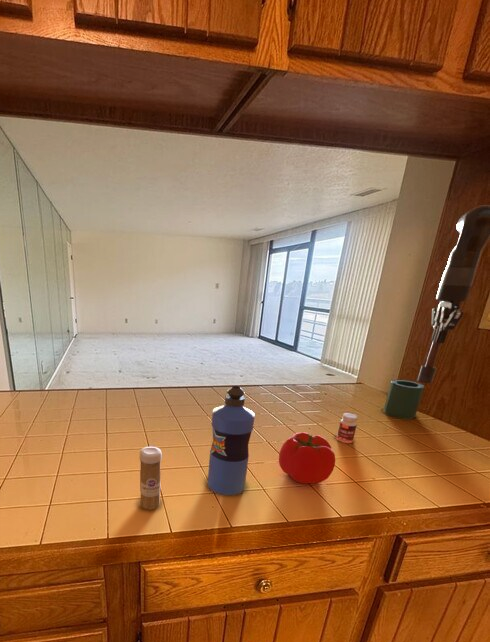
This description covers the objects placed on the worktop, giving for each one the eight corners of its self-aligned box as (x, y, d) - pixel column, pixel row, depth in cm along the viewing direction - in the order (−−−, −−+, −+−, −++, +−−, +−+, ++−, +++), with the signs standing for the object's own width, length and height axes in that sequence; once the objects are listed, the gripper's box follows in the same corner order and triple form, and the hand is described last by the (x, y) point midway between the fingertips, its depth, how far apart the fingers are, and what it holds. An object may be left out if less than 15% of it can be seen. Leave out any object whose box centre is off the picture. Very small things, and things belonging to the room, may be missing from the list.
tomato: (282, 458, 97) (288, 424, 93) (333, 471, 91) (342, 435, 87) (269, 481, 87) (275, 443, 83) (326, 497, 80) (336, 458, 76)
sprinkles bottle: (144, 512, 74) (144, 457, 69) (137, 500, 78) (136, 447, 73) (163, 507, 76) (165, 453, 71) (155, 496, 80) (156, 444, 75)
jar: (408, 410, 135) (417, 381, 130) (419, 420, 126) (429, 389, 121) (379, 408, 137) (387, 379, 132) (388, 417, 128) (397, 386, 123)
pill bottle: (336, 441, 108) (342, 417, 105) (335, 435, 112) (341, 411, 109) (353, 444, 106) (359, 419, 103) (352, 438, 110) (358, 414, 107)
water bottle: (219, 499, 79) (229, 396, 69) (200, 479, 87) (206, 383, 77) (253, 490, 82) (267, 391, 73) (231, 471, 90) (241, 379, 81)
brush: (428, 380, 116) (446, 325, 109) (434, 383, 113) (453, 327, 106) (415, 379, 117) (432, 325, 110) (420, 382, 113) (438, 326, 107)
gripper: (484, 284, 96) (463, 347, 103) (457, 283, 109) (439, 339, 116) (454, 284, 98) (434, 345, 104) (430, 283, 110) (414, 338, 117)
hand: (437, 341), depth 110 cm, fingers closed on brush, 2 cm apart
